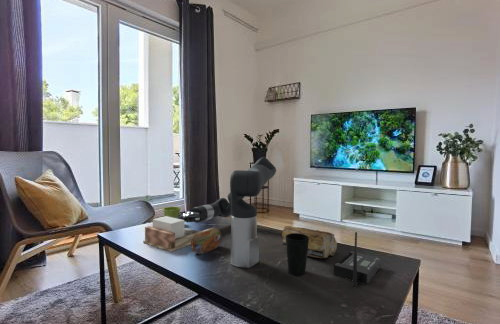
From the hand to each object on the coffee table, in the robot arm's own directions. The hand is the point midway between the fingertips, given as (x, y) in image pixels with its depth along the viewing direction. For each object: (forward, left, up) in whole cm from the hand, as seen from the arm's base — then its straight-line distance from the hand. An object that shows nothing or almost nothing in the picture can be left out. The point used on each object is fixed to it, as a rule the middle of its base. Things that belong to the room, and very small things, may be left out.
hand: (174, 220), depth 123 cm
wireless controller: (-74, -14, -10) cm, 75 cm away
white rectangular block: (0, +3, -6) cm, 7 cm away
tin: (-19, 0, -9) cm, 21 cm away
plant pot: (+22, -17, -9) cm, 29 cm away
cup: (-57, -3, -9) cm, 58 cm away
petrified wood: (-53, -23, -9) cm, 58 cm away
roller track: (0, -1, -9) cm, 9 cm away
